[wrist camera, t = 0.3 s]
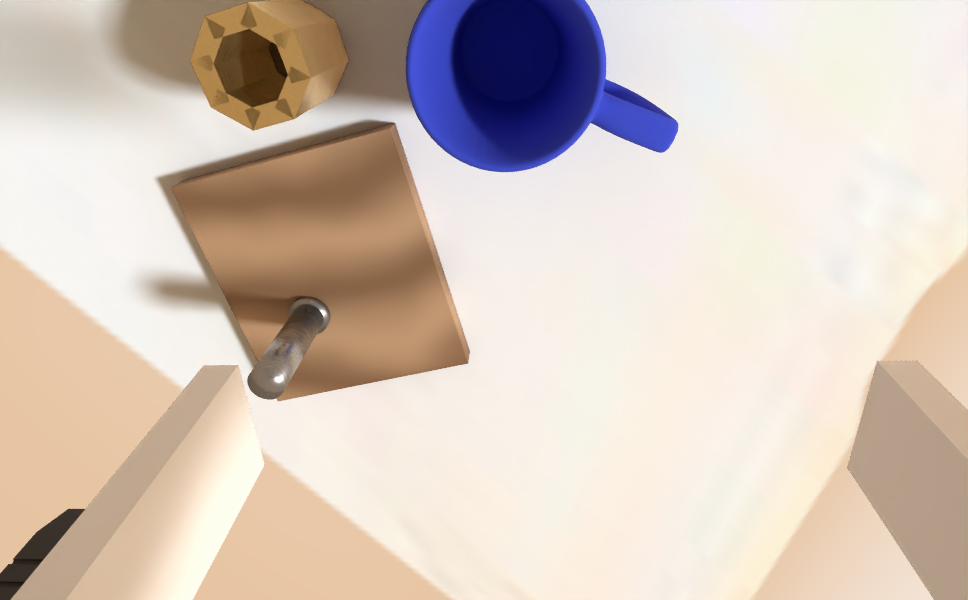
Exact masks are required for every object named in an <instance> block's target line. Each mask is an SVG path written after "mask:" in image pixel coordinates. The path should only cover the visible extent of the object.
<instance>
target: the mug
mask: <svg viewBox="0 0 968 600" xmlns="http://www.w3.org/2000/svg"><path fill="white" fill-rule="evenodd" d="M605 77H606V54H605V47H604V41H603V37H602V34H601V30H600V28H599V25H598V23H597V20H596V18H595V16H594V14H593V12H592V10H591V9H590V7H589V5H588V4H587V3H586V1H585V0H428V1H427V2H426V4H425V5H424V7H423V8H422V10H421V12H420V13H419V15H418V17H417V19H416V22H415V24H414V26H413V29H412V32H411V35H410V39H409V43H408V47H407V55H406V80H407V87H408V91H409V96H410V99H411V102H412V105H413V108H414V110H415V112H416V115H417V117H418V119H419V120H420V122H421V124H422V125H423V127H424V129H425V130H426V131H427V133H428V134H429V135H430V136H431V138H432V139H433V140H434V141H435V142H436V143H437V144H438V145H439V146H440V147H441V148H442V149H444V150H445V151H446V152H447V153H449V154H450V155H451V156H453V157H455V158H456V159H458V160H460V161H462V162H464V163H466V164H468V165H470V166H473V167H476V168H479V169H483V170H488V171H495V172H515V171H522V170H527V169H531V168H534V167H537V166H540V165H542V164H545V163H547V162H549V161H550V160H552V159H554V158H556V157H557V156H559V155H560V154H562V153H563V152H565V151H566V150H567V149H568V148H569V147H570V146H572V145H573V144H574V143H575V142H576V141H577V140H578V138H579V137H580V136H581V135H582V134H583V132H584V131H585V130H586V128H587V127H588V125H589V124H590V123H592V124H594V125H596V126H598V127H600V128H602V129H604V130H605V131H608V132H610V133H612V134H614V135H616V136H618V137H620V138H623V139H625V140H628V141H630V142H633V143H635V144H638V145H640V146H642V147H645V148H648V149H650V150H653V151H656V152H660V153H661V152H665V151H666V150H667V149H668V148H669V147H670V145H671V144H672V142H673V141H674V138H675V136H676V134H677V132H678V123H677V121H676V120H675V119H673V118H672V117H671V116H669V115H668V114H667V113H665V112H664V111H663V110H661V109H660V108H659V107H657V106H656V105H654V104H653V103H651V102H650V101H648V100H646V99H645V98H643V97H641V96H640V95H638V94H636V93H634V92H632V91H630V90H628V89H627V88H625V87H622V86H620V85H618V84H616V83H613V82H611V81H609V80H606V79H605Z"/></svg>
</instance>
